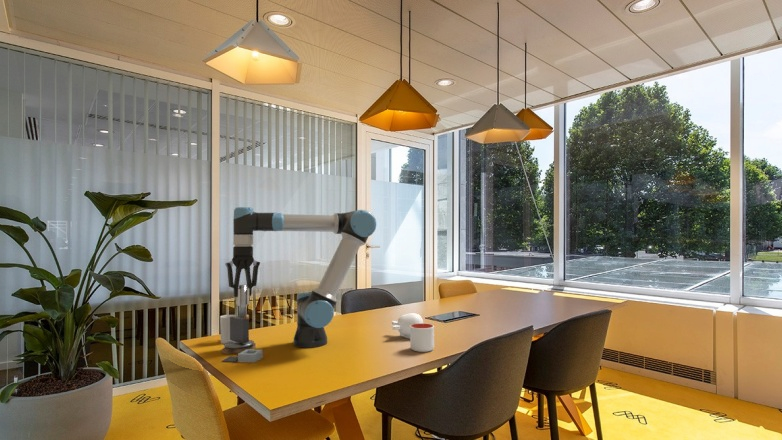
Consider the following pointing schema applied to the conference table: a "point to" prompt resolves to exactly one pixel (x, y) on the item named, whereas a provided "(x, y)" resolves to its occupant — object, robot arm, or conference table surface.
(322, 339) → the robot arm
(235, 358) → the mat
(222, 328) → the mug
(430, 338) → the cup
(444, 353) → the conference table surface
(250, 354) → the eye block
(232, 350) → the plinth
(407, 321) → the piggy bank
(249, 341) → the lever on round base
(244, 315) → the rod
